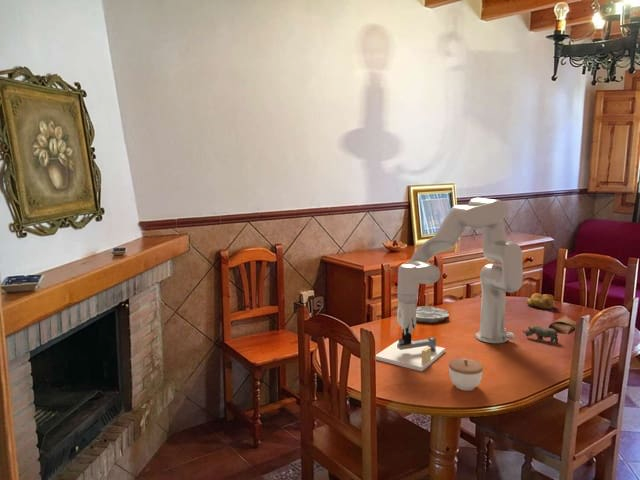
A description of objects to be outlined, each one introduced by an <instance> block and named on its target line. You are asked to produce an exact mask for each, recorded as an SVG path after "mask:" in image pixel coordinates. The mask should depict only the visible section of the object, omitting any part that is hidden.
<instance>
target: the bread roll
mask: <svg viewBox="0 0 640 480" xmlns="http://www.w3.org/2000/svg"><path fill="white" fill-rule="evenodd" d="M554 302H555V298H554V296H553V295H552V294H548V293H547V294H541V293H538V292H535V293H533V294H532V295H531V297H530V298H528V299H526V304H527V305H528V306H530V307H532V308H538V309H541V310H551V309H553V308H554V304H555V303H554Z"/></svg>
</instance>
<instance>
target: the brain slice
mask: <svg viewBox="0 0 640 480" xmlns="http://www.w3.org/2000/svg"><path fill="white" fill-rule="evenodd" d="M448 316H450V311H449V310H447V309H443V308H440V307H435V306H428V305H420V306H416V322H419V323H429V324H434V323H438V322H441V321H444V320H445V319H446V318H447V317H448Z"/></svg>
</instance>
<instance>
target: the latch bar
mask: <svg viewBox="0 0 640 480" xmlns="http://www.w3.org/2000/svg"><path fill="white" fill-rule="evenodd" d="M398 340H399V343H398V344H397V348H398V349H400V350H403V349H410V348H416V347H422V346H428V347H431V351H435V350H436V346H437V338H436V337H431V336H430V337H428V338H426V339H420V340H411V341H412V342H405V343H404V339H402V337H400V338H398Z"/></svg>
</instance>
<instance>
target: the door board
mask: <svg viewBox="0 0 640 480" xmlns="http://www.w3.org/2000/svg"><path fill="white" fill-rule="evenodd" d="M412 341H413V340H411V342H412ZM398 343H399V339H398V340H397V341H395V342H393V343H392V344H391V345H389V346H387V347H385V348H384V349H383V350H381V351H380V352H379V353H376V361H380V362H384V363H387V364H391V365H396V366H399V367H403V368H406V369H407V368H408V369H410V370H413V371H414V370H415V371H419V372H423V371H424V370H426V369H427V368H428V367H429V366H430V365H432V364H433V363H434V362H436V360H438V358H440V357H441V356H442V355H444V353H446V348H445V347H441V346H437V345H436V350H435V351H431V347H428V346H422V347H416V348H410V349H403V350H400V349H398V348H397V344H398Z"/></svg>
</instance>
